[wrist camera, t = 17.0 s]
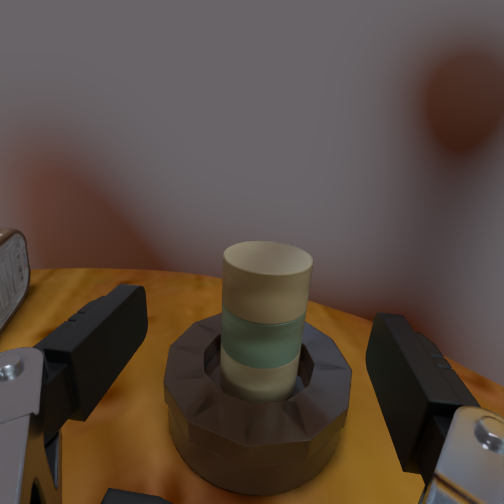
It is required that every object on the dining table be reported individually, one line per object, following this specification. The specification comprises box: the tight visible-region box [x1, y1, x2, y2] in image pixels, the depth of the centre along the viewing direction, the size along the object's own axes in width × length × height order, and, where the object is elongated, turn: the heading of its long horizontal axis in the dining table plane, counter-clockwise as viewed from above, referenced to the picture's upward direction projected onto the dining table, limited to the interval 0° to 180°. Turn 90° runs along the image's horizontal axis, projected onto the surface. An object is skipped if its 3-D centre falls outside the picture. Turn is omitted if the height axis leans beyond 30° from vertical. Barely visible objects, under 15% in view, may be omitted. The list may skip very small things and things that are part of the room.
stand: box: [164, 313, 352, 496], centre depth 20 cm, size 12×12×4 cm
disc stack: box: [220, 241, 313, 404], centre depth 19 cm, size 5×5×9 cm
